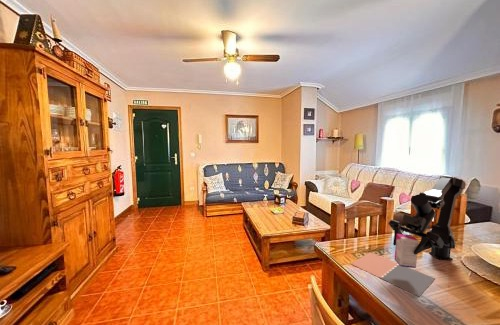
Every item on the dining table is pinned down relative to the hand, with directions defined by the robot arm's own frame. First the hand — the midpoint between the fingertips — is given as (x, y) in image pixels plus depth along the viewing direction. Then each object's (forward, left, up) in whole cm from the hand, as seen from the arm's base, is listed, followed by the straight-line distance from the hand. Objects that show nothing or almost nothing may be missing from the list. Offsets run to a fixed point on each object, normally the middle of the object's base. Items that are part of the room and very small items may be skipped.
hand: (403, 249), depth 89 cm
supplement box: (-1, -1, -7) cm, 7 cm away
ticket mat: (+2, -4, -12) cm, 13 cm away
